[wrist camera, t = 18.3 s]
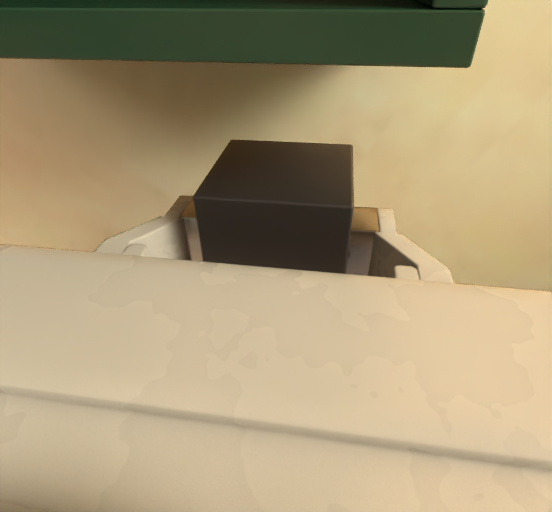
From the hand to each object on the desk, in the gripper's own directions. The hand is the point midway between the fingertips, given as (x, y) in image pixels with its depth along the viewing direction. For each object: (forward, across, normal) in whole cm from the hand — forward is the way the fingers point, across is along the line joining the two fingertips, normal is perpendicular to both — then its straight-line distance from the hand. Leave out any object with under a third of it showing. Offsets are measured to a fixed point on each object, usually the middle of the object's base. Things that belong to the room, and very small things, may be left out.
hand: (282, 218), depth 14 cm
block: (+2, 0, 0) cm, 2 cm away
